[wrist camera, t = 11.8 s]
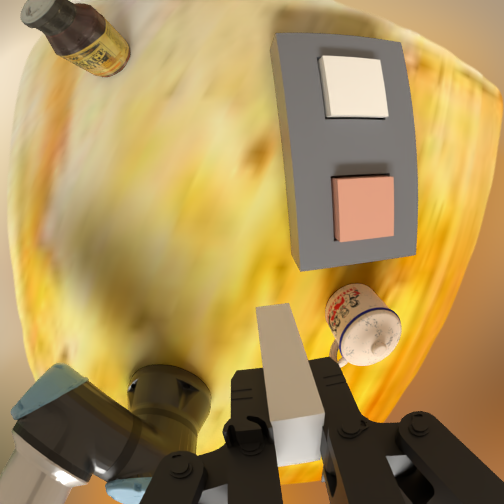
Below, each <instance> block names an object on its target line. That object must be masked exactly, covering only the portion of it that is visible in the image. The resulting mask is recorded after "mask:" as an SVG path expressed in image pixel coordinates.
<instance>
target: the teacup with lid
mask: <svg viewBox="0 0 504 504" xmlns="http://www.w3.org/2000/svg"><path fill="white" fill-rule="evenodd" d="M325 317H326V321H327V323H328V325H329V327H330V329H331V331H332V333H333V335H334V337H335V340H334V342H333V344H332V346H331V349H330V354H329V357H331V358H332V359H333V360H334V361H335V362H337V363H338V364H339V366H340V367H343V366H344V365H345V364H347V362H349V363H351V364H354V365H358V366H366V365H371V364H374V363H377V362H379V361H381V360H382V359H384V358H385V357H387V356H388V355H389V354H390V353H391V352H392V351H393V350H394V348H395V347H396V345H397V343H398V341H399V339H400V336H401V322H400V319H399V317H398V315H397V314H396V313H395V312H394V311H392V310H391V309H389V308H388V307H387V306H386V305H385V303H384V302H383V301H382V300H381V299H380V298H379V297H378V296H377V295H376V294H375V292H374V291H373V290H372V289H371V288H370V287H368V286H366V285H364V284H349V285H346V286H344V287H342V288H340V289H339V290H338V291H336V292H335V293H334V294H333V295H332V297H331V298H330V299H329V301H328V303H327V306H326V310H325ZM338 348H339V349H340V353H341V355H342V358H341V359H340V360H339V361H337V351H338Z"/></svg>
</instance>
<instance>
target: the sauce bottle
mask: <svg viewBox="0 0 504 504" xmlns="http://www.w3.org/2000/svg"><path fill="white" fill-rule="evenodd" d="M21 20H22V22H23V23H24V24H25V25H27V26H28V27H30V28H36V29H38V30H40V31H42V32H43V33H44V34H45V35H46V37H47V39H48V41H49V42H50V44H51V46H52V48H53V49H54V51H55V53H56V54H57V55H59V56H60V57H62V58H64V59H66V60H68V61H70V62H72V63H73V64H76V65H77V66H79V67H81V68H83V69H85V70H87V71H88V72H90V73H92V74H94V75H96V76H101V77H109V76H112V75H114V74H116V73H118V72H120V71H121V70H122V69H123V68H124V67H125V65H126V63H127V62H128V60H129V57H130V50H129V46H128V44H127V42H126V41H125V39H124V38H123V37H122V36H121V35H120V34H119V33H118V32H117V31H116V30H115V29H114V28H113V26H112V25H111V24H110V23H109V22H108V21H107V20H106V19H105V18H104V17H103V16H102V15H101V14H99V13H98V12H97V11H96V10H95V9H94V8H93V7H92V6H91V5H87V4H81V3H80V4H79V3H77V4H73V3H71V2H70V1H68V0H28V1H27V2H26V3H25V5H24V7H23V9H22V11H21Z"/></svg>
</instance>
